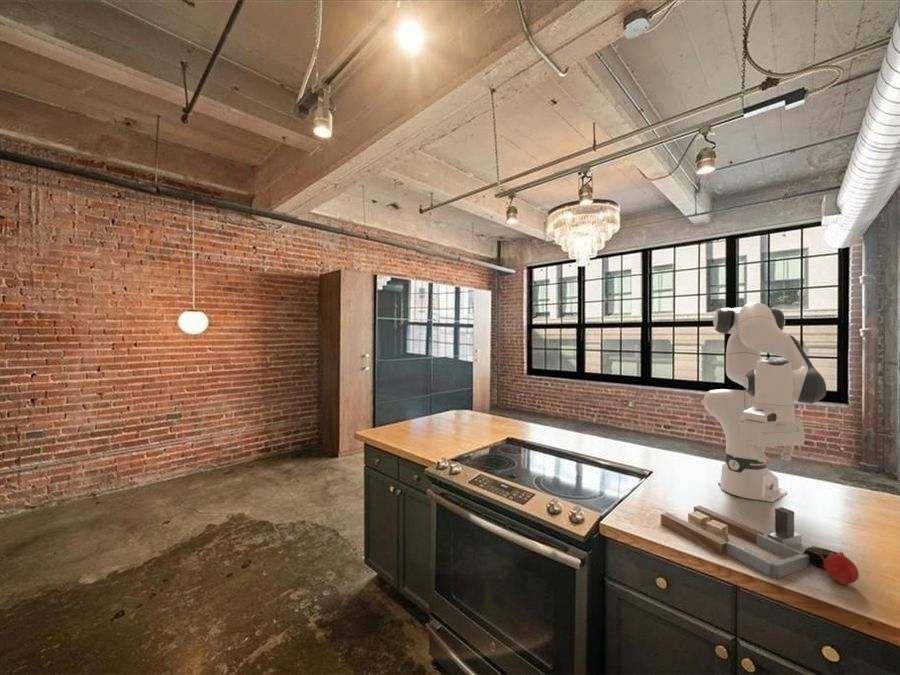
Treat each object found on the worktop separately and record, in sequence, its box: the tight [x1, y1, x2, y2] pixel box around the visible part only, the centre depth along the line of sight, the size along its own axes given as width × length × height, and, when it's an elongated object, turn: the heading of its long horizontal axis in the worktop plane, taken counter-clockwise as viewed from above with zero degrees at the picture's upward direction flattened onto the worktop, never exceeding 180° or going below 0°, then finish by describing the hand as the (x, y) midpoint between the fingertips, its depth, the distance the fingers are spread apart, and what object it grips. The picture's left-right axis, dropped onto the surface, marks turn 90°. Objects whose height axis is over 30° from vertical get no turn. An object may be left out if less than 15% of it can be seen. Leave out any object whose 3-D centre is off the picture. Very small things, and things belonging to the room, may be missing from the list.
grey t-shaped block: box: [767, 506, 803, 549], centre depth 106 cm, size 9×4×10 cm, turn 110°
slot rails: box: [660, 505, 765, 556], centre depth 113 cm, size 18×19×3 cm
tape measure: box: [803, 545, 838, 569], centre depth 97 cm, size 7×7×4 cm
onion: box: [823, 551, 860, 586], centre depth 90 cm, size 6×6×8 cm
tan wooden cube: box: [687, 511, 709, 531], centre depth 117 cm, size 4×4×4 cm
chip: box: [705, 520, 729, 541], centre depth 111 cm, size 4×4×4 cm
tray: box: [726, 534, 810, 580], centre depth 99 cm, size 14×12×3 cm
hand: (774, 460), depth 108 cm, fingers open, 8 cm apart
